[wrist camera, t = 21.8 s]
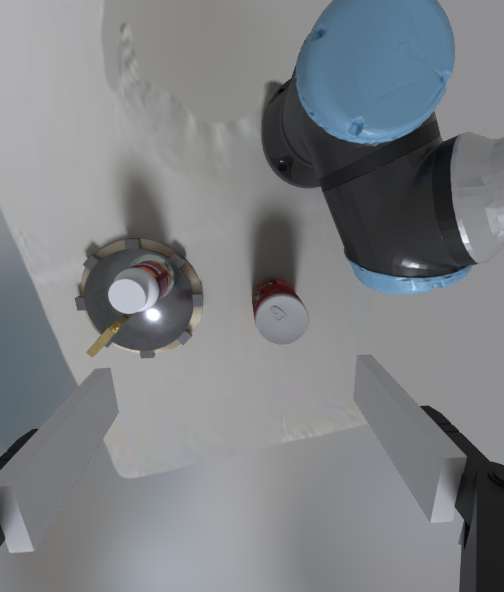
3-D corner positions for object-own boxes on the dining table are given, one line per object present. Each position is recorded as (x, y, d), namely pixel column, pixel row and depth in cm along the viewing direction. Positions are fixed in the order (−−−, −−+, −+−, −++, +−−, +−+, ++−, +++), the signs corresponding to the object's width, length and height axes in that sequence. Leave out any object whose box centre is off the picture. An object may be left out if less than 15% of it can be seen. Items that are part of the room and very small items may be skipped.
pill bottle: (172, 261, 45) (152, 275, 35) (171, 297, 47) (152, 321, 36) (133, 257, 45) (100, 270, 34) (133, 294, 47) (102, 317, 36)
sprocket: (54, 302, 48) (22, 317, 41) (130, 210, 44) (109, 210, 37) (152, 375, 53) (138, 400, 46) (227, 297, 49) (225, 311, 42)
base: (69, 240, 46) (68, 240, 46) (197, 236, 47) (197, 236, 46) (93, 355, 52) (93, 356, 52) (207, 350, 52) (207, 350, 52)
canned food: (267, 269, 49) (275, 284, 38) (303, 294, 50) (320, 315, 40) (242, 303, 50) (243, 327, 40) (278, 326, 52) (288, 355, 41)
